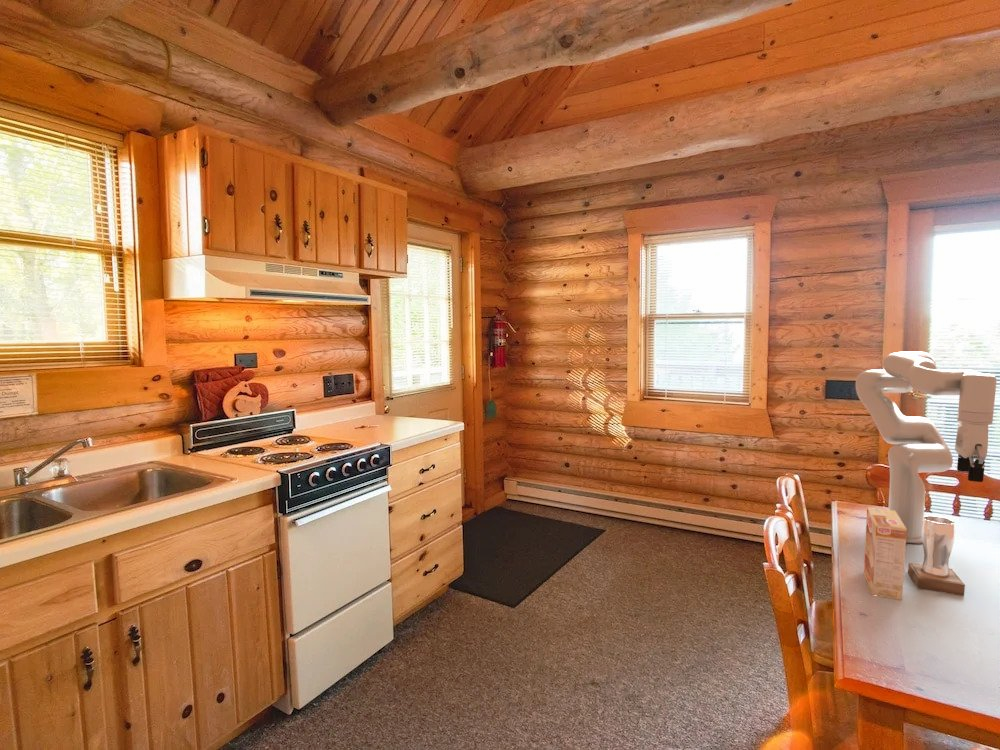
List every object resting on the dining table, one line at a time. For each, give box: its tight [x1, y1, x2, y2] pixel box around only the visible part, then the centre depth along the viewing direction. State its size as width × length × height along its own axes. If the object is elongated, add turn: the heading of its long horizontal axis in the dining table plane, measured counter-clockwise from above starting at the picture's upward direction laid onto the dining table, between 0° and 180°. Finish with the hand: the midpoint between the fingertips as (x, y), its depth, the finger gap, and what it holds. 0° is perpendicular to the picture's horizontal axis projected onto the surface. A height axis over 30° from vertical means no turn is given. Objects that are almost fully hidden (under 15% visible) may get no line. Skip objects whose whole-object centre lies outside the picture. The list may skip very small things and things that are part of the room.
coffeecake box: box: [863, 507, 907, 601], centre depth 151 cm, size 15×7×20 cm, turn 154°
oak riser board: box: [907, 562, 966, 597], centre depth 153 cm, size 10×10×3 cm
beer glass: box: [921, 515, 956, 577], centre depth 152 cm, size 7×7×15 cm
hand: (969, 476), depth 158 cm, fingers open, 9 cm apart
